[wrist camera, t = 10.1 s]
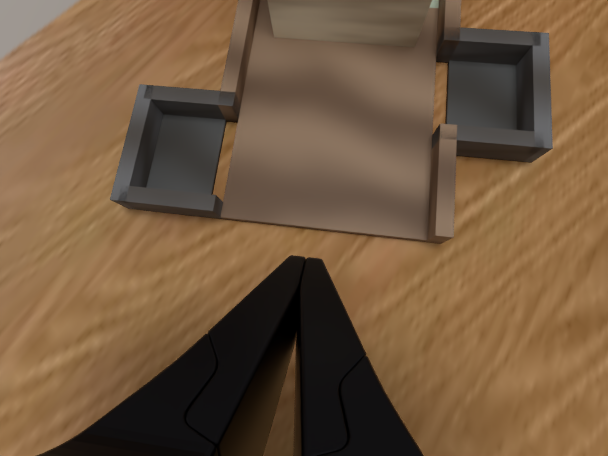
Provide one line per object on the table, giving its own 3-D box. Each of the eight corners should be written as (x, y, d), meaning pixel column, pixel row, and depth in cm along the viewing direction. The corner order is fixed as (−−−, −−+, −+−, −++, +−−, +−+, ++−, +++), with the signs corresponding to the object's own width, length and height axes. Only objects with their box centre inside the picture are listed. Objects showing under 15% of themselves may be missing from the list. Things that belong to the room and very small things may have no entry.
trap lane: (533, 253, 20) (619, 234, 14) (128, 208, 22) (59, 175, 16) (526, -94, 26) (586, -209, 20) (204, -105, 28) (173, -213, 22)
